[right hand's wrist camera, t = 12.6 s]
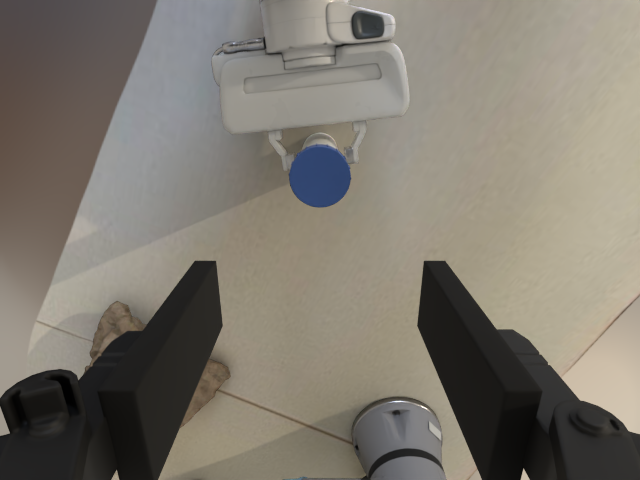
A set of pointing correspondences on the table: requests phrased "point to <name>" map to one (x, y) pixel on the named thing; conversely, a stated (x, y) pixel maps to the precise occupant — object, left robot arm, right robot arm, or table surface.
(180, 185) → the table surface
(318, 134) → the white bottle
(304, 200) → the lid
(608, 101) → the table surface
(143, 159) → the table surface
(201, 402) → the stone
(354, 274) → the table surface
